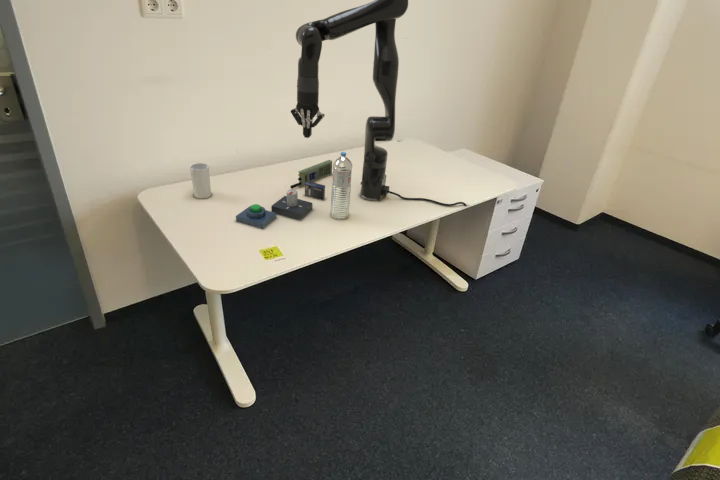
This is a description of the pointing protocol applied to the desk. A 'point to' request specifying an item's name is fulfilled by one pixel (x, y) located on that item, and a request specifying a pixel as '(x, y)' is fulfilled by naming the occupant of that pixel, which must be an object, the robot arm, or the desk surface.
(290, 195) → the program dial
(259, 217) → the housing
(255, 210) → the button
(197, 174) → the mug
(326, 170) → the handheld radio
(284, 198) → the dial panel
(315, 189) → the mini dv tape
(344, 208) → the water bottle
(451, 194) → the desk surface
